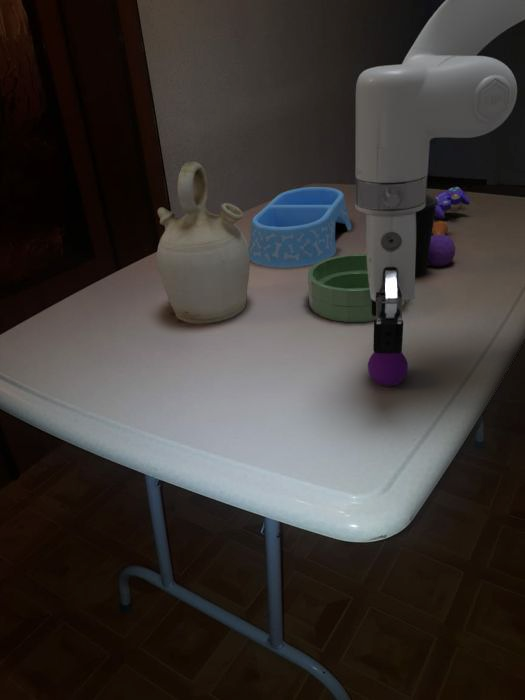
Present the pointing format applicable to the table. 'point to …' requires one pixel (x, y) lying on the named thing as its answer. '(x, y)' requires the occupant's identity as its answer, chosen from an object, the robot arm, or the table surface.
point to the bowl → (341, 289)
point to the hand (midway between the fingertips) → (385, 332)
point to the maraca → (440, 246)
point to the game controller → (450, 201)
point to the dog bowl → (298, 227)
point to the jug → (202, 254)
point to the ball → (387, 368)
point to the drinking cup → (424, 234)
